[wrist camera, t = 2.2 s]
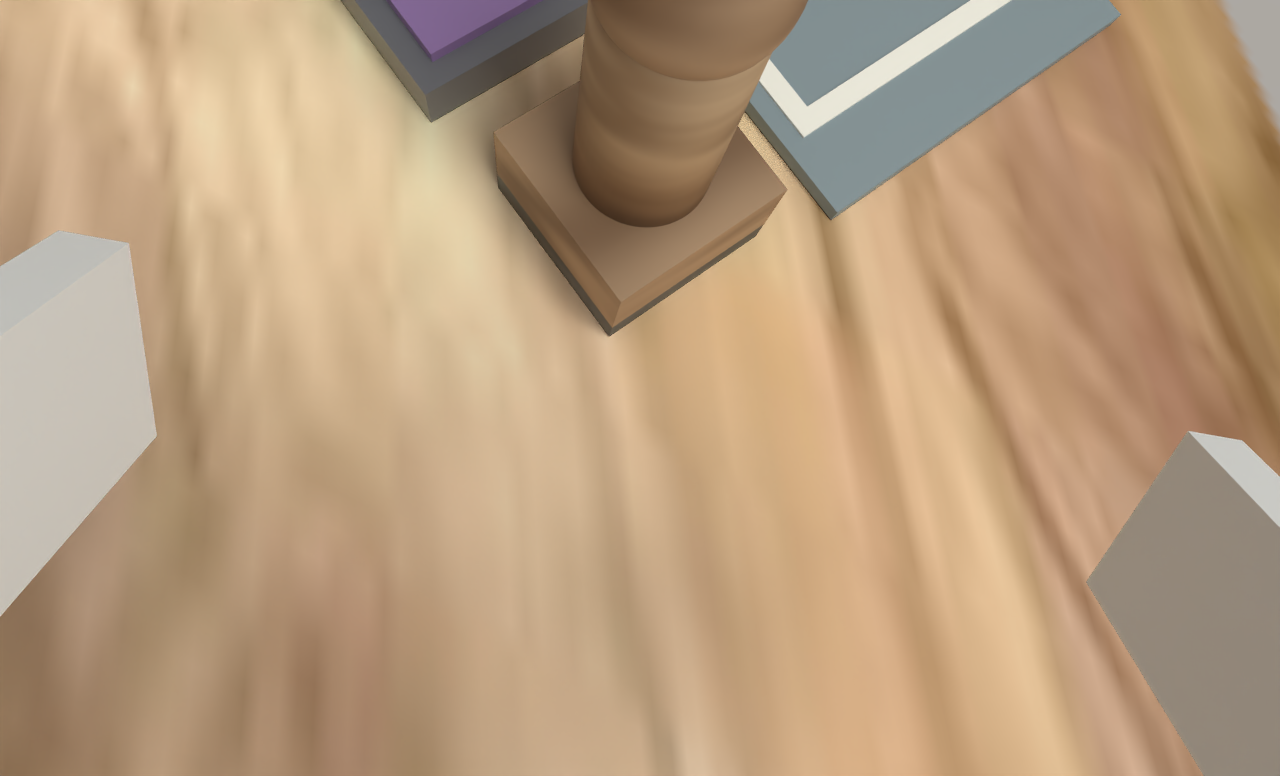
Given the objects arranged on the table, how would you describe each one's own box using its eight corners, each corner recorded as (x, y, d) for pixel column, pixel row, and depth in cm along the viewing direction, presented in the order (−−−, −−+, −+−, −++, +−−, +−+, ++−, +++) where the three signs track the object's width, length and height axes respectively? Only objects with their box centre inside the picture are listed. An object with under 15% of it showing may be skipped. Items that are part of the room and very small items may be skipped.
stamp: (498, 187, 26) (464, -200, 13) (647, 96, 28) (754, -339, 14) (609, 336, 26) (693, 91, 12) (755, 236, 27) (973, -82, 14)
